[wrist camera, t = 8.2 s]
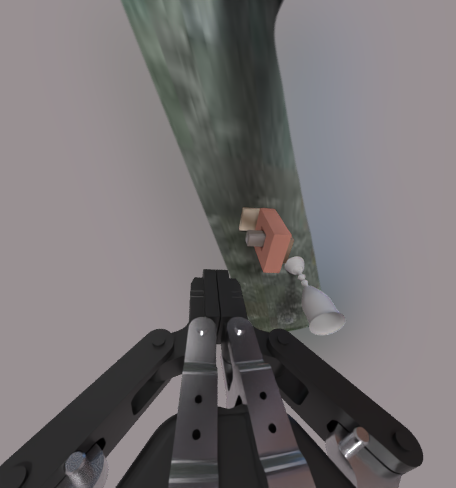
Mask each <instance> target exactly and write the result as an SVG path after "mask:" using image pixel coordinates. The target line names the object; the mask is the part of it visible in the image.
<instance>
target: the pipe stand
mask: <svg viewBox="0 0 456 488" xmlns="http://www.w3.org/2000/svg"><path fill="white" fill-rule="evenodd" d="M259 211H260V209H259V208H247V207H243V209H242V214H241V219H240V225H239V230H242V231H247V235H246V239H245V240H246V243H247V246H256V247H263V246H264V242H265V238H266V234H265V232H264V231H260V230H255V228H256V224H257V220H258V215H259ZM293 242H294V239H293V238H292V236H291V239H290V242H289V245H288V248H287V251H286V254H285V257H284V260H283V263H287V260H288V257H289V254H290V251H291V248H292V245H293Z"/></svg>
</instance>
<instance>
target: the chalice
mask: <svg viewBox="0 0 456 488" xmlns="http://www.w3.org/2000/svg"><path fill="white" fill-rule="evenodd" d="M285 269H286V270H287V271H289V272H290V273H291V274H294V275H298V279H299V280H301V284H302V285H303V286H304V287H305V288H304V289H303V292H302V308H303V311H304V313H305V315H306V317H307V319H308V321H309V329H310V331H311V332H312V333H314V334H316V335H327V334H331V333H334V332H336V331H338V330H339V329H341V328H342V327H343V325H344V324H345V322H346V318H345V316H344V315H343V314H341V313H340V312H338V310H337V309H336V307H335V306H334V304H333V302H332V301H331V299H330V298H329V297H328V296H327V295H326V294H325V293H323V292H322V291H320V290H318V289H317V288H315V287H313V286H308V281H307V280H305V275H303V274H302V272H303V270H304V260H303V258H301V257H292V258H290V259H288V260H287V263H285Z"/></svg>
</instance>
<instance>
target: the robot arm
mask: <svg viewBox="0 0 456 488" xmlns="http://www.w3.org/2000/svg"><path fill="white" fill-rule="evenodd" d="M189 310H190V311H189V323H188V324H187V326H186V327H184V328H183V329H181V330H179V331H176V332H173V333H170V332H169V331H167V330H165V329H156V330H153V331H151V332H150V333H148V334H147V335H146V336H145V337H144V338H143V339H142V340H141V341H139V342H138V343H137V344H136V345H135V346H134V347H133V348H132V349H130V350H129V351H128V352H127V353H126V354H125V355H124V356H123V357H122V358H120V359H119V360H118V361H117V362H116V363H115V364H114V365H113V366H111V367H110V368H109V369H108V370H107V371H106V372H105V373H104V374H102V375H101V376H100V377H99V378H98V379H97V380H96V381H95V382H94V383H92V385H90V386H89V387H88V388H87V389H86V390H85V391H83V392H82V393H81V394H80V395H79V396H78V397H77V398H76V399H75V400H73V401H72V402H71V403H70V404H69V405H68V406H67V407H66V408H65V409H63V410H62V411H61V412H60V413H59V414H58V415H57V416H56V417H55V418H53V419H52V420H51V421H50V422H49V423H48V424H47V425H45V427H43V428H42V429H41V430H40V431H39V432H38V433H37V434H36V435H34V436H33V437H32V438H31V439H30V440H29V441H28V442H26V443H25V444H24V445H23V446H22V447H21V448H20V449H19V450H18V451H16V452H15V453H14V454H13V455H12V456H11V457H10V458H9V459H8V460H6V461H5V462H4V463H3V464H2V465H1V466H0V488H103V487H104V485H105V483H106V480H107V476H108V463H107V460H106V457H107V456H108V455H109V453H110V452H111V451H112V450H113V449H114V447H115V446H116V445H117V444H118V443H119V441H120V440H121V439H122V438H123V437H124V435H125V434H126V433H127V432H128V431H129V429H130V428H131V427H132V426H133V425H134V423H135V422H136V421H137V420H138V418H139V417H140V416H141V415H142V414H143V413H144V411H145V410H146V409H147V408H148V407H149V405H150V404H151V403H152V402H153V401H154V399H155V398H156V397H157V396H158V395H159V393H160V392H161V391H162V390H163V388H164V387H165V386H166V385H167V384H168V383H169V381H170V380H171V378H173V377H175V376H178V375H180V374H182V382H181V390H180V398H179V406H178V413H177V414H175V415H173V416H172V417H170V418H169V419H167V420H166V421H165V422H164V423H162V424H161V425H160V426H159V427H158V429H157V430H156V431H155V432H154V434H153V435H152V436H151V438H150V439H149V441H148V442H147V443H146V445H145V446H144V448H143V449H142V451H141V452H140V453H139V455H138V456H137V458H136V459H135V461H134V462H133V463H132V465H131V466H130V468H129V469H128V471H127V472H126V473H125V475H124V476H123V478H122V479H121V480H120V482H119V483H118V485H117V486H116V488H398V487H399V483H400V479H401V476H402V475H403V474H405V473H406V472H408V471H410V470H412V469H414V468H416V467H418V466H420V465H421V464H422V462H423V452H422V449H421V447H420V444H419V443H418V441H417V439H416V438H415V437H414V435H413V434H412V433H411V432H410V431H409V430H408V429H407V428H406V427H404V426H403V425H402V424H401V423H400V422H398V421H397V420H396V419H395V418H394V417H392V416H391V415H390V414H389V413H388V412H386V411H385V410H384V409H383V408H381V407H380V406H379V405H378V404H376V403H375V402H374V401H373V400H372V399H370V398H369V397H368V396H367V395H365V394H364V393H363V392H362V391H361V390H359V389H358V388H357V387H356V386H354V385H353V384H352V383H351V382H349V381H348V380H347V379H346V378H345V377H343V376H342V375H341V374H340V373H338V372H337V371H336V370H335V369H333V368H332V367H331V366H330V365H328V364H327V363H326V362H325V361H324V360H322V359H321V358H320V357H319V356H317V355H316V354H315V353H314V352H313V351H311V350H310V349H309V348H308V347H306V346H305V345H304V344H303V343H302V342H300V341H299V340H298V339H297V338H295V337H294V336H293V335H292V334H291V333H289V332H288V331H286V330H284V329H274V330H272V331H271V332H270V333H269V332H265V331H262V330H259V329H257V328H255V327H254V326H252V324H251V323H250V322H249V321H248V318H247V314H246V309H245V305H244V300H243V295H242V291H241V286H240V284H239V282H238V281H237V280H236V279H232V278H229V274H228V270H216V271H215V270H210V269H204V270H203V277H202V278H197V277H195V278H194V279H193V281H192V283H191V291H190V309H189ZM216 344H221V350H222V351H221V356H220V358H221V365H222V371H223V377H224V383H225V389H226V397H227V398H226V408H222V407H218V406H217V378H218V376H217V367H216ZM282 399H283V400H284V401H286V403H287V404H288V405H289V406H291V408H292V409H293V410H294V411H295V412H296V413H297V414H298V415H299V416H300V417H301V418H302V419H303V420H304V421H305V422H306V423H307V424H308V425H309V426H310V427H311V428H312V429H313V430H314V431H315V432H316V433H317V434H318V435H319V436H320V437H321V438H322V439H323V440H324V441H325V442H326V450H327V453H328V456H327V455H326V454H325V452H323V450H322V449H321V448H320V447H319V446H318V445H317V444H316V442H315V441H314V440H313V439H312V438H311V437H310V436H309V435H308V434H307V433H306V431H305V430H304V429H303V428H302V427H301V426H300V425H299V424H298V423H297V422H296V421H295V420H294V419H293V418H292V417H291V416H290V415H289V414H287V413H286V410H285V407H284V404H283V401H282Z"/></svg>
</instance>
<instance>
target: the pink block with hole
mask: <svg viewBox="0 0 456 488" xmlns="http://www.w3.org/2000/svg"><path fill="white" fill-rule="evenodd" d="M255 230H260V231H264V232H265V234H266V238H265V242H264V246H263V247H256V246H254V248H255V251H256V253H257V256H258V259H259V262H260V264H261V267H262V270H263V272H265V273H279V272H280V269H281V266H282V263H283V260H284V257H285V254H286V251H287V248H288V245H289V242H290V239H291V236H292V235H291V233H290V232H289V230H288V229H287V227H286V226H285V224H284V223H283V221H282V219H281V218H280V216H279V215H278V213H277V212H276V210H275V209H269V208H260V211H259V215H258V220H257V224H256V228H255Z"/></svg>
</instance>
